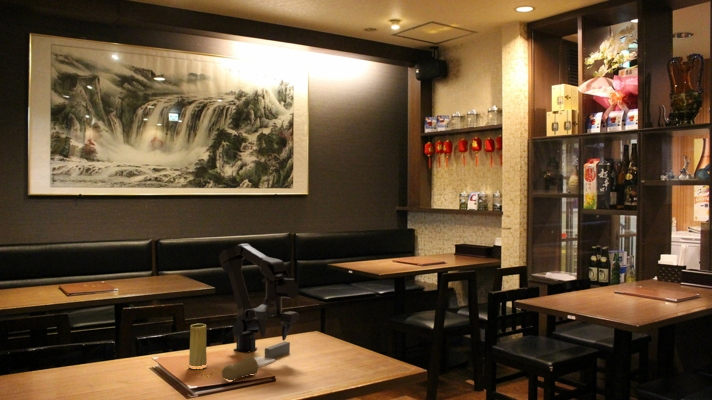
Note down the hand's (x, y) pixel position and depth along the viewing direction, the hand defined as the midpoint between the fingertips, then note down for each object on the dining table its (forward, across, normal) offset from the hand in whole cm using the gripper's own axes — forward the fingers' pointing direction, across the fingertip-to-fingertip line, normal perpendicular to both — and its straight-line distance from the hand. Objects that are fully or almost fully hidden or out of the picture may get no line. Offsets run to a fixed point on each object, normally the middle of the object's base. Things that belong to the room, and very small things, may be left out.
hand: (273, 338), depth 215 cm
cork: (+4, +6, -20) cm, 21 cm away
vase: (+7, -14, -23) cm, 28 cm away
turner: (+7, 0, 0) cm, 7 cm away
